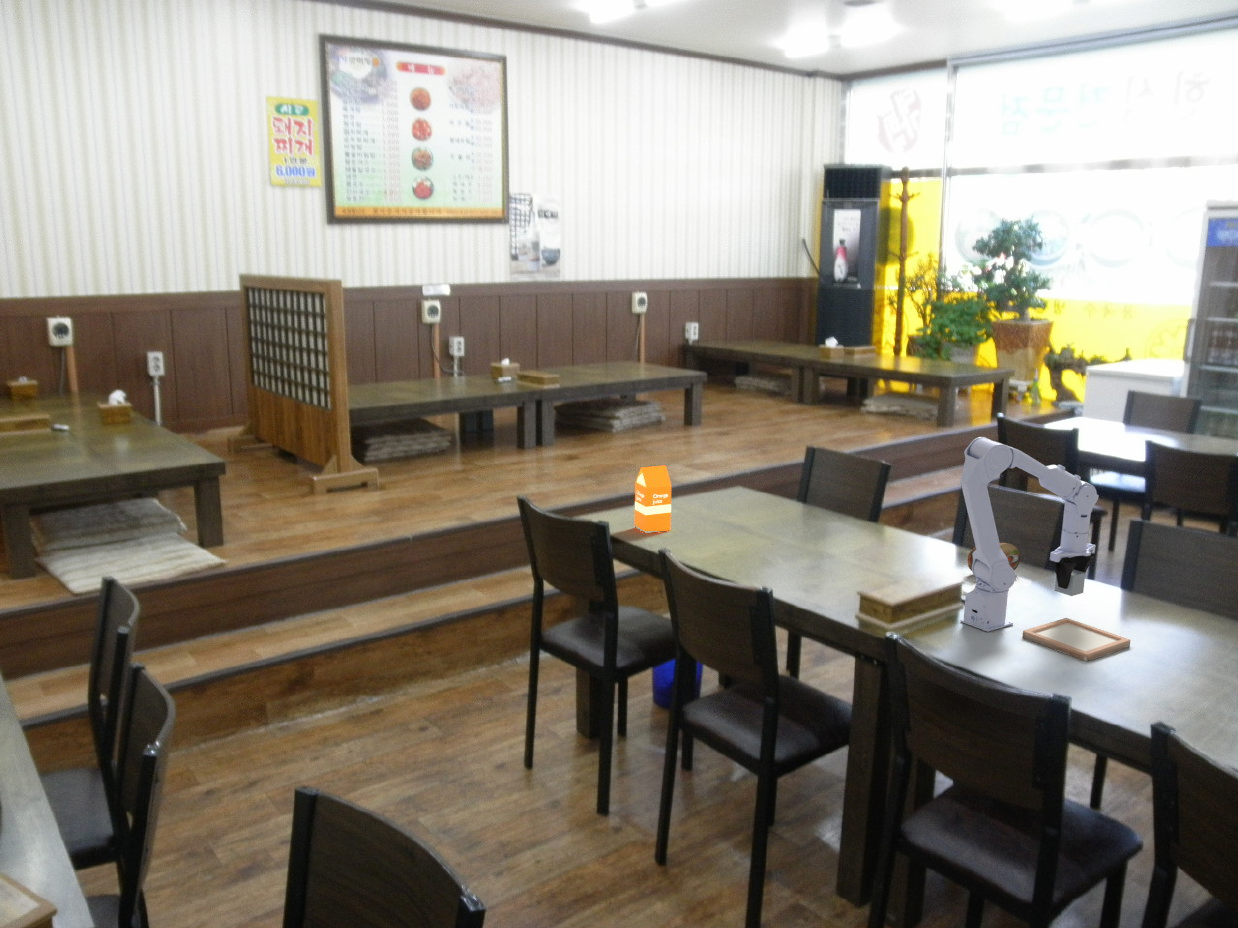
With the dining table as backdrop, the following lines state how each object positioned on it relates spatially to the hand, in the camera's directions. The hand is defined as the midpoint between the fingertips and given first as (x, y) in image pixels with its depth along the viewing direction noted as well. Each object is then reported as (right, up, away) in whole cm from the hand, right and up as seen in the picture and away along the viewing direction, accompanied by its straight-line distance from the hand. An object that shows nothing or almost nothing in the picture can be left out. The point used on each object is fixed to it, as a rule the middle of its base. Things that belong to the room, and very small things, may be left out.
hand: (1069, 585), depth 245 cm
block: (0, -1, 0) cm, 2 cm away
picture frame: (-4, -11, -12) cm, 17 cm away
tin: (-5, -1, +36) cm, 36 cm away
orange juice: (-96, +8, +75) cm, 122 cm away
